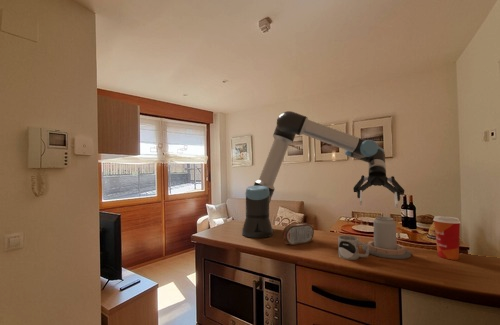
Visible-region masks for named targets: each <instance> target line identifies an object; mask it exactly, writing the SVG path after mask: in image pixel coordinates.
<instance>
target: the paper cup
mask: <svg viewBox="0 0 500 325" xmlns="http://www.w3.org/2000/svg"><path fill="white" fill-rule="evenodd" d="M432 221H433V223H434V230H435V231H434V232H435V241H436V248H437V250H436V251H437V256H438V257H439V258H441V259H446V260H450V259H451V261H458V260H459V256H460V229H461V228H460V227H461V226H460V225H461V223H462V222H461V221H460V218H458V217H454V216H446V215H443V216H442V215H434V218H433V219H432Z"/></svg>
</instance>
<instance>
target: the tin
mask: <svg viewBox="0 0 500 325" xmlns="http://www.w3.org/2000/svg"><path fill="white" fill-rule="evenodd" d="M314 233H315V230H314V227H313V226H312V225H311V224H309V223H307V222H299V223H289V224H288V225H286V226H285V227H284V228H283V230H282V239H283V241H284V242H285V243H286V244H288V245H290V246H296V245H302V244H308V243H309V242H311V241H312V240H313V238H314Z"/></svg>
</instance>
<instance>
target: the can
mask: <svg viewBox="0 0 500 325" xmlns="http://www.w3.org/2000/svg"><path fill="white" fill-rule="evenodd" d="M374 218H375V219H374V220H373V221H372V222H373V241H374V246H375V247H378V248H383V249H391V250H396V249H397V244H398V243H397V223H396V221H395V219H394V218H392V217H388V216H375V217H374Z"/></svg>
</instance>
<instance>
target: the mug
mask: <svg viewBox="0 0 500 325" xmlns="http://www.w3.org/2000/svg"><path fill="white" fill-rule="evenodd" d="M337 237H338V238H337V239H338V241H337V244H338V248H337V250H338V257H339V258H340V259H343V260H346V261H347V260H348V261H357V260H358V259H359V258H368V257H369V255H370V254H369V247H368V244H367V242H363V241H359V238H358V237H356V236H352V235H339V236H337ZM359 246H365V248H366V252H365V253H360V252H359Z"/></svg>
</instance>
